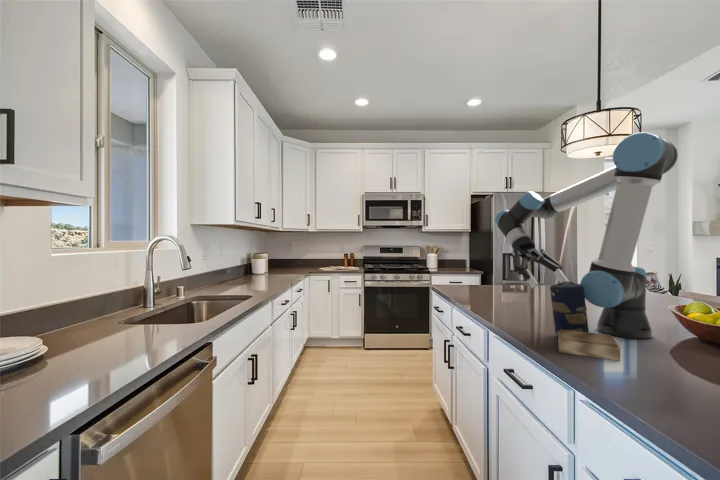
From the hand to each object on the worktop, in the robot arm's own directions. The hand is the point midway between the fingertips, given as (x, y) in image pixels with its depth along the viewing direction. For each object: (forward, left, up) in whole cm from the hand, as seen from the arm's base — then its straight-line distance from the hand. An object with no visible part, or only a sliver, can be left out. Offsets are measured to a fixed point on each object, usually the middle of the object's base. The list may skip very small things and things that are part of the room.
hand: (551, 285), depth 120 cm
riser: (-9, +18, -16) cm, 26 cm away
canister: (-6, +6, -16) cm, 18 cm away
